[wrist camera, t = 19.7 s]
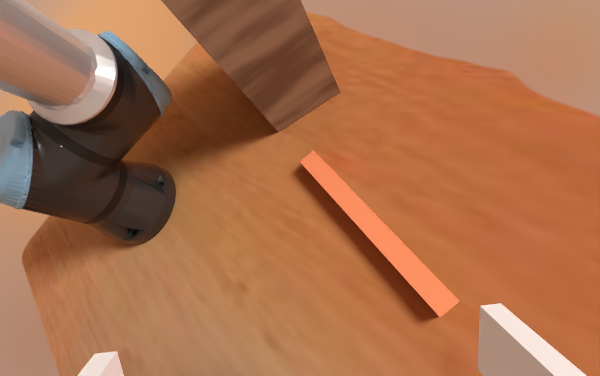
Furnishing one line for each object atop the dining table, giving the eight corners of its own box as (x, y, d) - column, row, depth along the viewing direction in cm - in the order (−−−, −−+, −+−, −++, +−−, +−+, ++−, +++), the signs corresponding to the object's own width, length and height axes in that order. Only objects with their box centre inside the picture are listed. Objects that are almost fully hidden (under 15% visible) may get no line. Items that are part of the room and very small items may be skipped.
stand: (340, 92, 48) (234, -154, 22) (278, 132, 50) (116, -51, 25) (298, 31, 57) (187, -196, 31) (247, 68, 59) (102, -117, 33)
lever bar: (457, 301, 33) (459, 301, 31) (439, 316, 33) (439, 317, 31) (319, 157, 46) (313, 150, 44) (306, 169, 46) (300, 162, 44)
